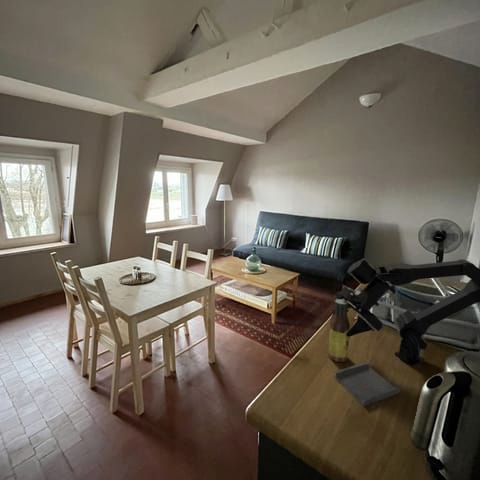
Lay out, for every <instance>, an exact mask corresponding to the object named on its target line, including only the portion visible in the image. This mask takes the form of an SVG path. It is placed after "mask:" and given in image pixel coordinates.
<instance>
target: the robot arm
mask: <svg viewBox="0 0 480 480" xmlns="http://www.w3.org/2000/svg"><path fill="white" fill-rule="evenodd" d="M347 273H348V274H349V275H351V276H352V277H353V278H354V279H355V280H356V281H357V282H358V283H359V284H360V285H365V286H364V288H363V287H362V288H361V287H359V288H357V289H356V290H355V289H352V288H351V287H349V286H346V285H344V286H343V287H342V290H341V291H337V292H336V293H335V294H334V295H333V297H334V301H335V300H337V299H342V300H346V301H347V302H348V308H347V313H348V312H349V311H350V310H352V311H354V312H356V313H357V314H358V315H357V319H356V322H355V323H354V324H353V325H352V326H350V330H349V331H348V332H347V334H346V335H347V336H348V337H352V336H356V335H359V334H361V333H362V334H363V333H366V332H371V331H372V332H375V331H377V332H380V330H382V329H383V325H384V323H383V322H382V321H381V320H380V319H379V317H377V316H376V314H374V313H372V312H371V309H372V308H373V307H374V306H375V307H378V306H379V305H380V304H379V301H381V299H382V298H383V297H384V296H385V295H386V294H387V292H388V293H389V294H392V295H396V293H397V292H396V287H397V286H398V287H400V286H403V285H408V284H411V283H413V282H416V281H418V280H425V279H426V280H427V279H437V278H449V277H460V276H461V277H462V276H466V277H467V278H469V279H470V280H469V281H467V284H466V285H465V286H464V288H462V289H461V290H458V291H457V292H455V293H453V294H451V295H449V296H448V297H446V298H444V299H441V300H440V301H438V302H436V303H434V304H432V305H430V306H428V307H427V308H425V309H423V310H421V311H417V312H412V311H411V310H410V309H408V310H406V311H404V312H403V313H401V314H399V313H398V315H397V317H396V318H395V320H394V327H395V329H396V330H397V332H398V334H399V336H400V338H401V340H400V344H399V348H398V349H399V350H398V351H396V352H394V355H395V356H397V357H398V358H400V359H401V360H403V361H404V362H405V363H407V364H409V365H410V366H415V365H419V364H421V363H425V362H426V359H425V358H424V357H422V354H423V353H422V352H423V351H424V350H426V349H427V347H428V342H427V341H426V339H425V338H424V335H426V333H427V332H428V330H429V329H430V327H431V326H432V327H433V325H436V324H438V323H440V322H441V321H444V320H445V319H448V318H450V317H452V316H454V315H455V314H457V313H460V312H461V311H463V310H465V309H468V308H469V307H471V306H473V305H475V304H478V303H480V268H479V267H477V266H476V264H474V263H472V262H471V261H469V260H467V259H457V260H451V261H439V262H433V263H424V264H407V263H403V262H402V263H399V262H398V263H397V262H391V263H387V264H386V265H385V266H384V265H383V266H382V265H381V266H372V265H371V264H370V263H369V262H368V261H367V260H366V259H365V258H364V257H363V258H362V259H359V260H357V261H356V262H353V263H352V264H351V265H350V266H349V267H348V270H347ZM349 309H350V310H349ZM334 314H335V309H334V310H333V312H332V314H331V317H330V322H331V318H332V317H333V315H334Z"/></svg>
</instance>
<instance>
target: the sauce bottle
mask: <svg viewBox="0 0 480 480" xmlns="http://www.w3.org/2000/svg"><path fill="white" fill-rule="evenodd" d="M336 299H337V298H336ZM347 309H348V302H347V301H346V300H342V299H337V300H335V299H334V310H335V314H334V315H333V317H332V316H331V317H332V318H331V317H330V319H331V321H330V327H329V337H328V356H329V358H330V359H331V360H333V362H334V361H335V362H337V363H338V362H339V363H343V362H345V361H347V359H348V356H349V349H350V347H349V346H350V337H351V336H350V337H348V336H347V335H346V334H347V332H348V331H349V330H350V329H351V323H350V320H349V317H348V312H347Z"/></svg>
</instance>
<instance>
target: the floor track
mask: <svg viewBox="0 0 480 480" xmlns="http://www.w3.org/2000/svg"><path fill="white" fill-rule="evenodd" d="M333 377H334V378H335V379H336V381H337V382H339V383H340V385H342V386H343V387H344V388H345V389H346V390H347V391H348V393H350V395H352V396H353V397H354V398H355V399H356V400H357V401H358V402H359V403H360V404H361V405H362V406H363V407H366V406H369V405H371V404H374V403H376V402H379V401H381V400H385V399H387V398H390V397H393V396H394V395H398V394H401V390H402V389H401V388H402V386H400V385H398V384H397V385H395V386H394V385H393V384H392V383H390V382H389V381H388V380H387V379H385V378H384V377H382V375H380V374H379V373H378V372H376V371H375V370H374V369H373V368H372V367H370V362H369V361H365V362H360V363H358V364H354V365H352V366H348V367H345V368H341V369H338V370H334V372H333Z"/></svg>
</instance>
